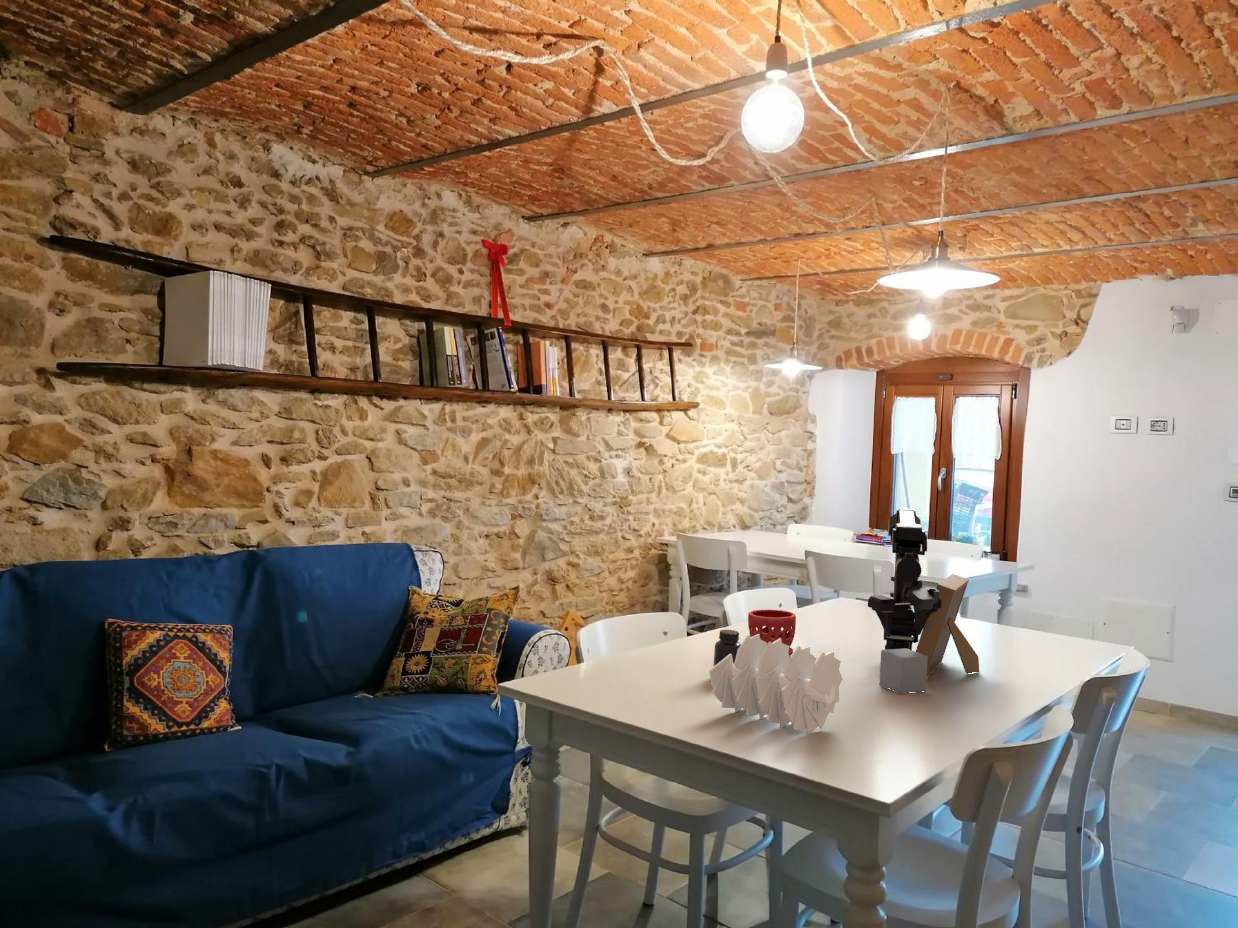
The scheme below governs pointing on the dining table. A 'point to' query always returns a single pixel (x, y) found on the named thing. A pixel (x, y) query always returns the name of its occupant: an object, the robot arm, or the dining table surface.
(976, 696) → the dining table surface
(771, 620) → the plant pot
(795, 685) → the spiral staircase
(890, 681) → the grey block
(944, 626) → the photo frame
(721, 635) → the supplement bottle
